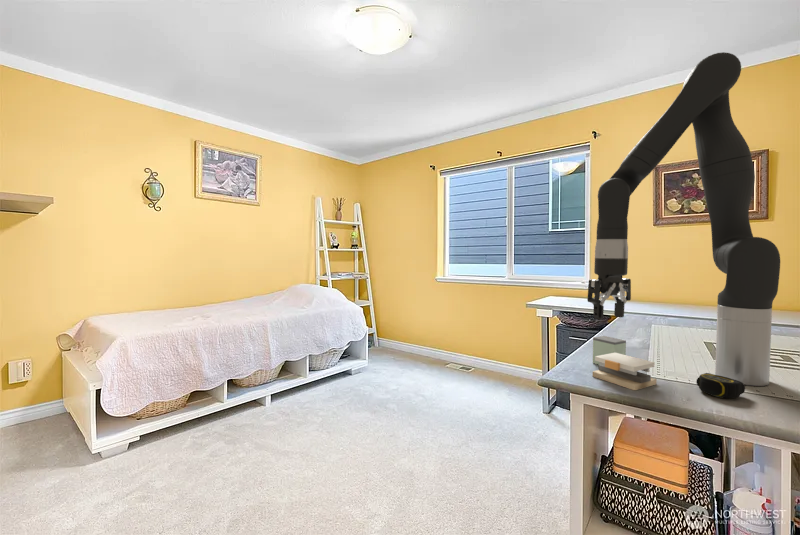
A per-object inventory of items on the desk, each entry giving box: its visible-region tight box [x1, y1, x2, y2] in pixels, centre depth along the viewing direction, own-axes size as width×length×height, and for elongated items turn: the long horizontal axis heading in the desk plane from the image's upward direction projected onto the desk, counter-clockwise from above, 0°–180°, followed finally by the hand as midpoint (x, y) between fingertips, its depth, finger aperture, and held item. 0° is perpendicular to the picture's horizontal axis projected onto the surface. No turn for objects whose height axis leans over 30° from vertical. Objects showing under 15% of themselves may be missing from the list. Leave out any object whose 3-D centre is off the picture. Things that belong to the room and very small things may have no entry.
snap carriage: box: [595, 353, 656, 375], centre depth 84 cm, size 8×9×2 cm
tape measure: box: [695, 372, 746, 399], centre depth 76 cm, size 7×7×4 cm
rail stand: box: [592, 365, 658, 391], centre depth 85 cm, size 8×10×2 cm
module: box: [592, 335, 627, 366], centre depth 96 cm, size 5×6×7 cm
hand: (608, 318), depth 96 cm, fingers open, 8 cm apart
